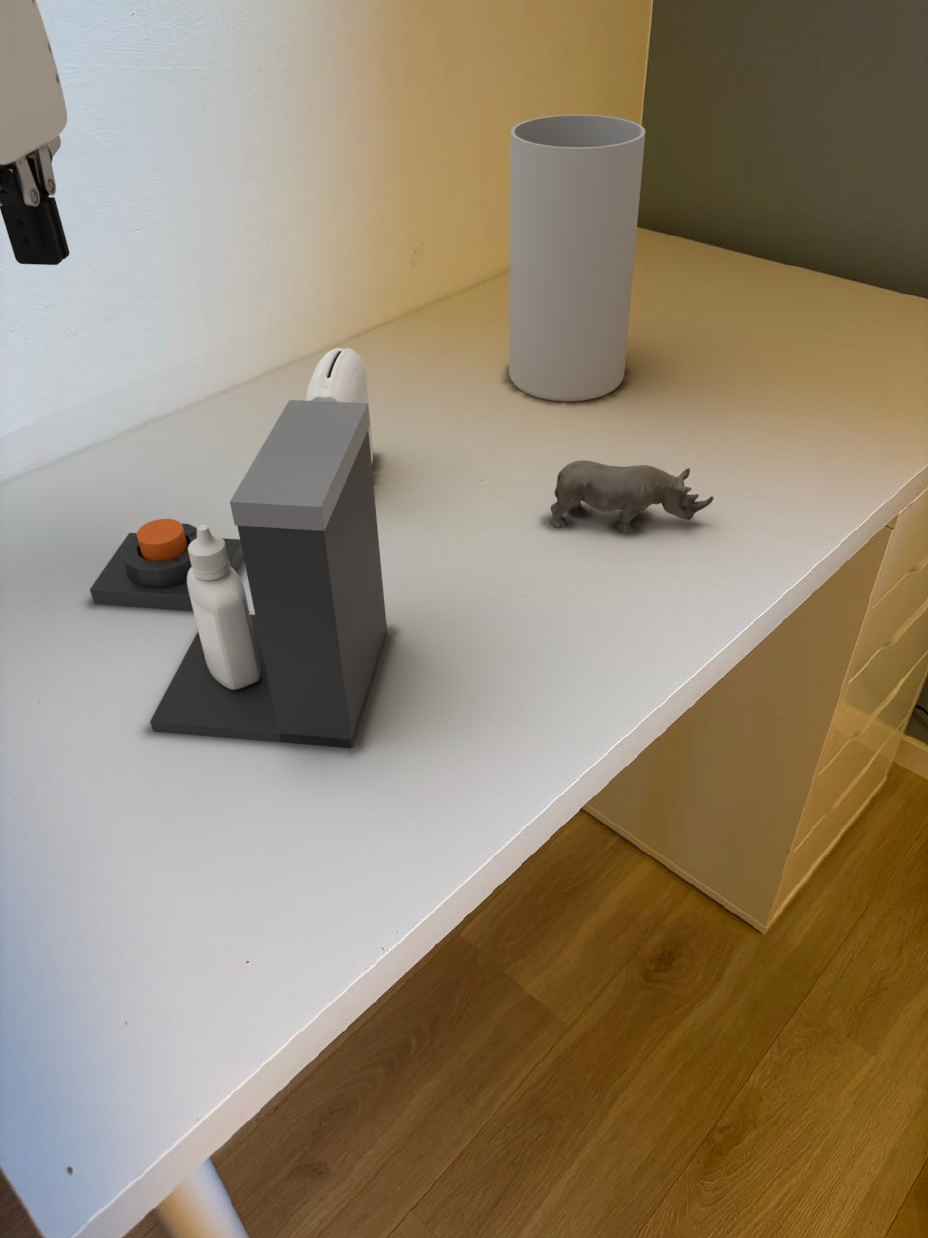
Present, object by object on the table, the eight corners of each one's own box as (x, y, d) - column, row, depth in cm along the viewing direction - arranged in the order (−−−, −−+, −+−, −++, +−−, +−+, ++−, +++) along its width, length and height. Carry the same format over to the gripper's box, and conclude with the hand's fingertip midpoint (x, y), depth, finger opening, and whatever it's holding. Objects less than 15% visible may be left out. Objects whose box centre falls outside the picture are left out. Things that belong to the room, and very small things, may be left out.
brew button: (134, 560, 79) (129, 542, 77) (151, 535, 81) (146, 517, 80) (178, 563, 78) (173, 545, 77) (193, 537, 81) (189, 519, 80)
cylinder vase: (485, 377, 109) (483, 131, 93) (564, 344, 116) (575, 108, 100) (567, 416, 102) (580, 156, 86) (647, 378, 108) (673, 129, 92)
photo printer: (360, 516, 88) (347, 388, 81) (313, 514, 89) (295, 387, 81) (378, 457, 96) (367, 335, 89) (334, 456, 97) (320, 335, 89)
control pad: (94, 606, 79) (83, 571, 77) (133, 548, 85) (124, 514, 83) (215, 614, 78) (207, 579, 76) (246, 555, 84) (239, 521, 82)
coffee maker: (152, 734, 68) (76, 492, 56) (211, 622, 77) (157, 393, 65) (354, 752, 66) (321, 506, 54) (389, 635, 76) (368, 402, 63)
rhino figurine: (710, 543, 84) (720, 482, 80) (547, 533, 86) (550, 472, 82) (707, 516, 87) (717, 456, 83) (551, 507, 89) (553, 448, 85)
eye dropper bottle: (196, 694, 69) (159, 554, 62) (209, 642, 74) (176, 505, 66) (259, 692, 69) (230, 551, 62) (268, 640, 74) (242, 502, 66)
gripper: (-41, -72, 63) (42, 224, 75) (-192, -44, 52) (-65, 300, 63) (70, -74, 62) (137, 226, 74) (-58, -46, 51) (45, 303, 63)
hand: (43, 259), depth 69 cm, fingers closed
